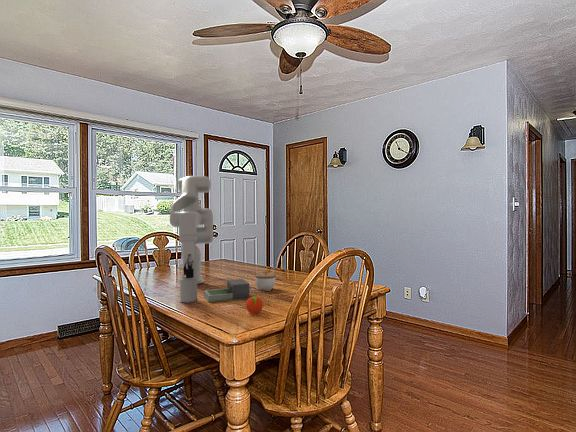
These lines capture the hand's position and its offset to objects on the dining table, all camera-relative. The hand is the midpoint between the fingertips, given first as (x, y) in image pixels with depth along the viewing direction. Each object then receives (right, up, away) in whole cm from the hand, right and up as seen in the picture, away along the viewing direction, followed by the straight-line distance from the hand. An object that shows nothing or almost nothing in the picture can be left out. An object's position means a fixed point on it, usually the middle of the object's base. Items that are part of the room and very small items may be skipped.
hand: (188, 276), depth 164 cm
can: (0, -12, +1) cm, 12 cm away
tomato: (+32, -12, -20) cm, 39 cm away
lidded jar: (+34, -11, +24) cm, 43 cm away
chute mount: (+16, -11, +7) cm, 21 cm away
